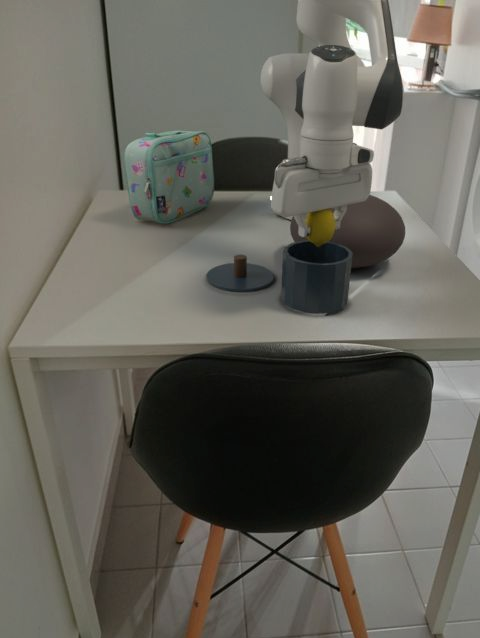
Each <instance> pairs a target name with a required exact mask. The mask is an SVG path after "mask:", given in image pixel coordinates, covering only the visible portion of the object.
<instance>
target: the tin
mask: <svg viewBox="0 0 480 638" xmlns="http://www.w3.org/2000/svg"><path fill="white" fill-rule="evenodd" d="M352 255H353V252H352V251H351V250H350V249H349V248H348V247H345V246H343V245H341V244H338V243H334V242H329V241H328V242H327V243H325V244H322V245H321V246H320V247H317V246H316V245H315V244H314V243H312V242H310V241H309V240H304V241H298V242H294V241H293V242H290V243H288V244H287V245H285V246H284V248H283V250H282V268H281V269H282V270H281V289H280V299H281V301H282V302H283V304H284V305H285V306H287V307H289V308H290V309H292V310H295V311H298V312H302V313H307V314H316V315H318V314H320V315H321V314H324V315H323V316H324V317H326V316H332V315H337V314H339V313H342V312H343V311H344V310H346V308H347V306H348V301H349V292H350V282H351V275H352V273H351V272H352V268H351V265H352Z"/></svg>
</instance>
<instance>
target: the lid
mask: <svg viewBox="0 0 480 638" xmlns="http://www.w3.org/2000/svg"><path fill="white" fill-rule="evenodd" d="M274 278H275V277H274V273H273V272H272V271H271V270H270V269H269V268H267V267H266V266H262V265H259V264H255V263H248V257H247V255H245V254H236V255H234V256H233V262H229V263H224V264H219V265H216V266H214V267H212V268H211V269H209V270H208V271H207V273H206V281H207V283H208V284H209V285H210V286H212V287H214V288H216V289H219V290H222V291H228V292H235V293H246V292H247V293H249V292H255V291H260V290H262V289H266V288H267V287H269V286H270V285H272V283H273V282H274V280H275V279H274Z"/></svg>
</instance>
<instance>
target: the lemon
mask: <svg viewBox="0 0 480 638" xmlns="http://www.w3.org/2000/svg"><path fill="white" fill-rule="evenodd" d="M305 221H306V224H307V226H311V231H310V232H311V235H310V236H306V237H307V238H308V240H309V241H310V242H312V243H314V244H315V245H316V246H317V247H320V246H321V245H322V244H325V243H327V242H328V241H329V240H330V239H331V238H332V236H333V234H334V231H335V217H334V214H333V212H332V211H331V210H330V209H325V210H320V211H315V212H310V213H308V217H307V219H305Z"/></svg>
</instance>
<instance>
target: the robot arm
mask: <svg viewBox="0 0 480 638" xmlns="http://www.w3.org/2000/svg"><path fill="white" fill-rule="evenodd" d="M347 20H350V21H352V22H353V23H355V24H356V25H358V26H360V27H361V28H362V29H363V30H364V31H365V33H366V35H367V38H368V46H369V47H368V48H369V54H370V60H371V61H370V62H371V65H370V66H369V65H367V66H366V65H365V63H364V62H363V60H362V59H361V58H360V57H359V56H358V55H357V52H356V51H355V50H353V48H352V47H351V44H350V42H349V39H348V34H347ZM295 21H296V26H297V28H298V30H299V31H300V32H301V34H302V35H303V36H305V37H306V38H308V39H309V40H310V41H312V42H314V43H316V44H317V45H318V46H316V47H314V48H312V49H311V50H310V51H309V52H308V53H305V52H304V53H302V52H301V53H300V52H287V53H281V54H280V53H279V54H276V55H272V56H269V57H268V58H267V60H266V61H265V62H264V64H263V66H262V68H261V72H260V86H261V89H262V92H263V93H264V95H265V96H266V97H267V98H268V99H269V101H271V102H272V103H273V104H274V105H275V106H276V107H277V108H278V110H279V111H280V113H281V115H282V117H283V120H284V122H285V125H286V132H287V158H284V159H282V160H281V162H280V163H278V165H277V167H276V168H275V169H274V179H273V184H272V190H271V196H270V209H271V211H272V212H273V213H274V214H275V215H278V216H279V217H282V218H284V219H287V220H290V221H291V220H292V217H293V216H294V218H295V220H296V222H297V224H298V225H299V229H298V234H299V236H302V237H306V236H310V235H311V232H310V231H311V226H307V224H306V221H305V219H307V217H308V213H310V212H315V211H320V210H325V209H329V208H334V209H335V211H334V217H335V230H337V229H340V223H341V220H342V218H343V216H344V214H345V213H346V211H347V205H349V204H354V203H359V202H364V201H366V200H367V198H368V197H369V195H371V191H372V182H373V167H372V164H371V163H372V162H373V161H374V156H375V152H374V150H373V149H371V148H368V147H365V146H362V145H359V144H357V143H356V142H354V136H355V135H354V128H353V127H364V128H367V129H376V130H384V129H386V128H387V127H388V126H390V125H391V124H393V123H394V122H395V121H396V120H397V119H398V118H399V117H400V116H401V114H402V110H403V107H404V103H405V101H404V100H405V89H404V83H403V77H402V74H401V70H400V65H399V62H398V56H397V48H396V42H395V35H394V27H393V21H392V14H391V9H390V2H389V0H297V9H296V20H295Z"/></svg>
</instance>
